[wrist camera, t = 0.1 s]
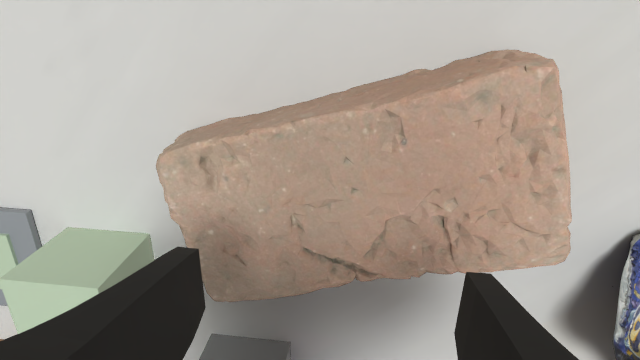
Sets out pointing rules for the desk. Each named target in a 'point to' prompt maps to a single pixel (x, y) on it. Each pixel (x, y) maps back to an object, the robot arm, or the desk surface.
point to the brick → (380, 181)
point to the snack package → (629, 307)
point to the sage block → (71, 272)
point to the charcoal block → (245, 349)
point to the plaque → (16, 240)
